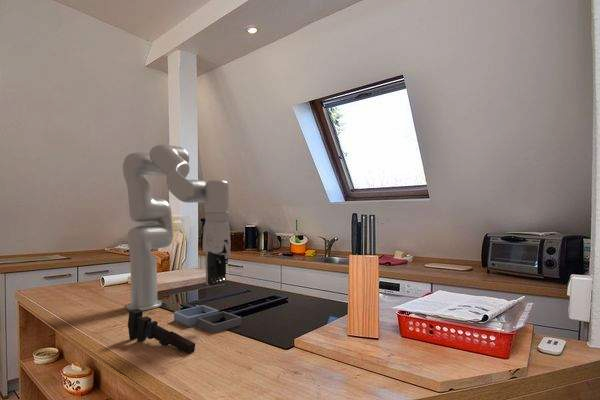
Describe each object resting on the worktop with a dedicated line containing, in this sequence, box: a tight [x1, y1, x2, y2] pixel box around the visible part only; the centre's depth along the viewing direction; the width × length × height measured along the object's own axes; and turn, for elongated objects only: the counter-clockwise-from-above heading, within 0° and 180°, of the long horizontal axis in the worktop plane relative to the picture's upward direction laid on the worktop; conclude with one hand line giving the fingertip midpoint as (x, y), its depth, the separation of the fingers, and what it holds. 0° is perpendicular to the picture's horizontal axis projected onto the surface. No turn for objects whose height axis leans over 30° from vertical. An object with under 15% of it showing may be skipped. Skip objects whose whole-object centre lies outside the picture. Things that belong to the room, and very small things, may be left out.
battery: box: [205, 251, 229, 286], centre depth 120 cm, size 7×4×11 cm, turn 140°
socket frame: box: [196, 311, 243, 334], centre depth 120 cm, size 10×10×2 cm
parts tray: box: [173, 304, 220, 328], centre depth 126 cm, size 10×11×3 cm
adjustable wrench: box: [127, 308, 196, 355], centre depth 104 cm, size 8×3×25 cm
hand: (217, 273), depth 120 cm, fingers closed on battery, 4 cm apart
